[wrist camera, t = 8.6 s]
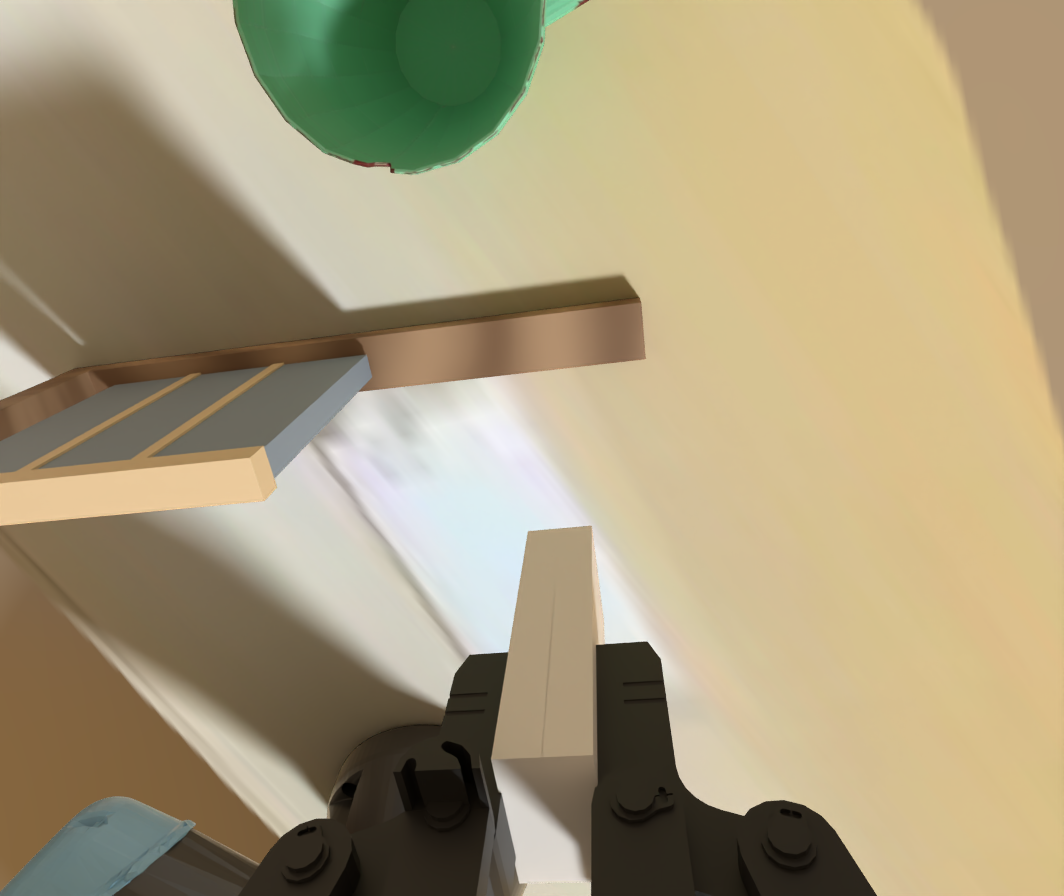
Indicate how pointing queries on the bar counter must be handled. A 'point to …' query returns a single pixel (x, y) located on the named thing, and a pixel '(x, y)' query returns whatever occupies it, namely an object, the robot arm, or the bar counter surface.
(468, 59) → the mug
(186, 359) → the brown wooden rack
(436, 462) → the bar counter surface
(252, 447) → the panel
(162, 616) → the bar counter surface
